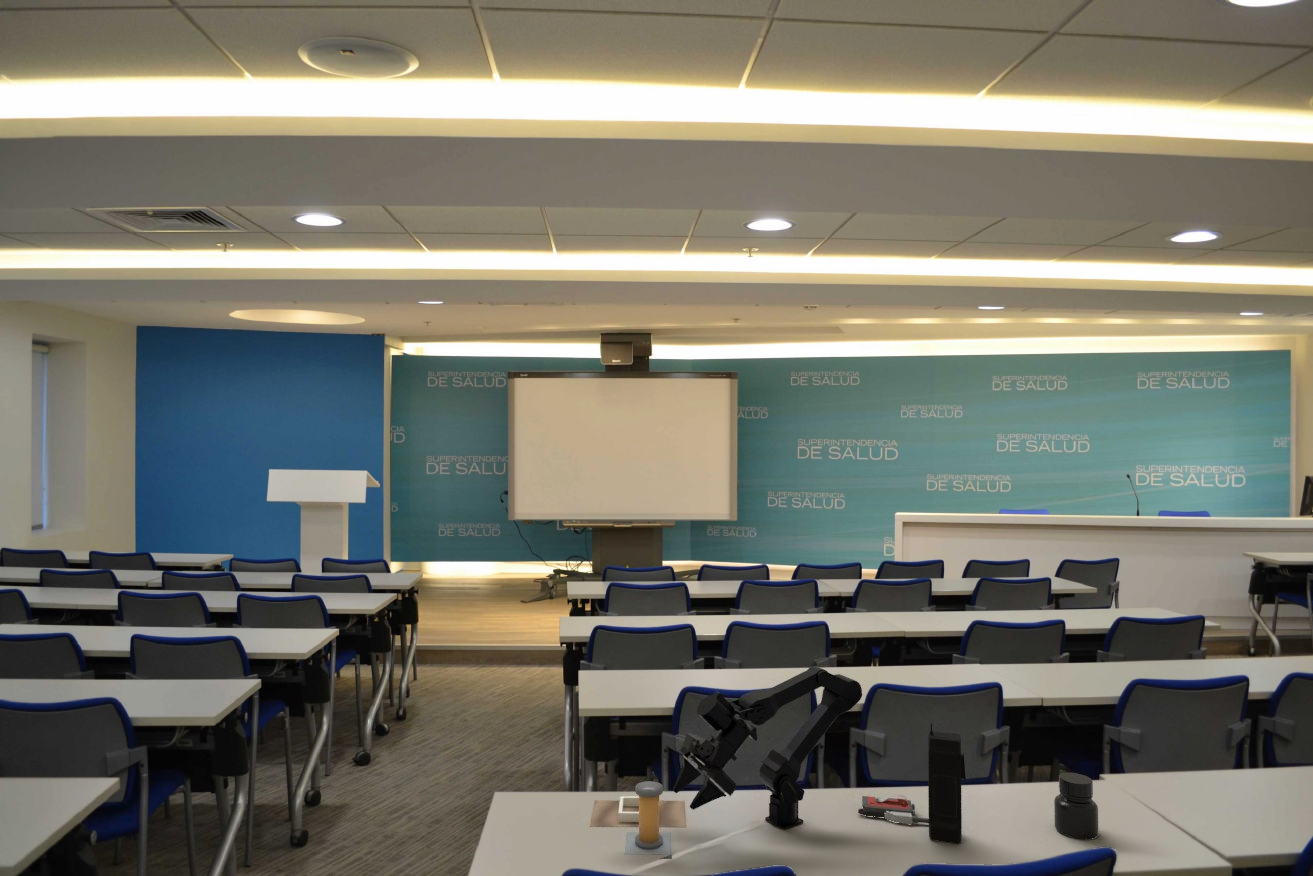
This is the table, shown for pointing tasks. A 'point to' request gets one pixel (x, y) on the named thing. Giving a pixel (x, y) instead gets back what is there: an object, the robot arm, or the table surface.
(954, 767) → the portable radio
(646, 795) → the orange cylinder grey ends
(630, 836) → the grey mat
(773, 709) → the robot arm
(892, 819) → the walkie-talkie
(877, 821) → the table surface
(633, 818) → the white square frame
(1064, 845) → the table surface
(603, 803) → the walnut board
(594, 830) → the table surface
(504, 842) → the table surface
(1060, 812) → the ink bottle
